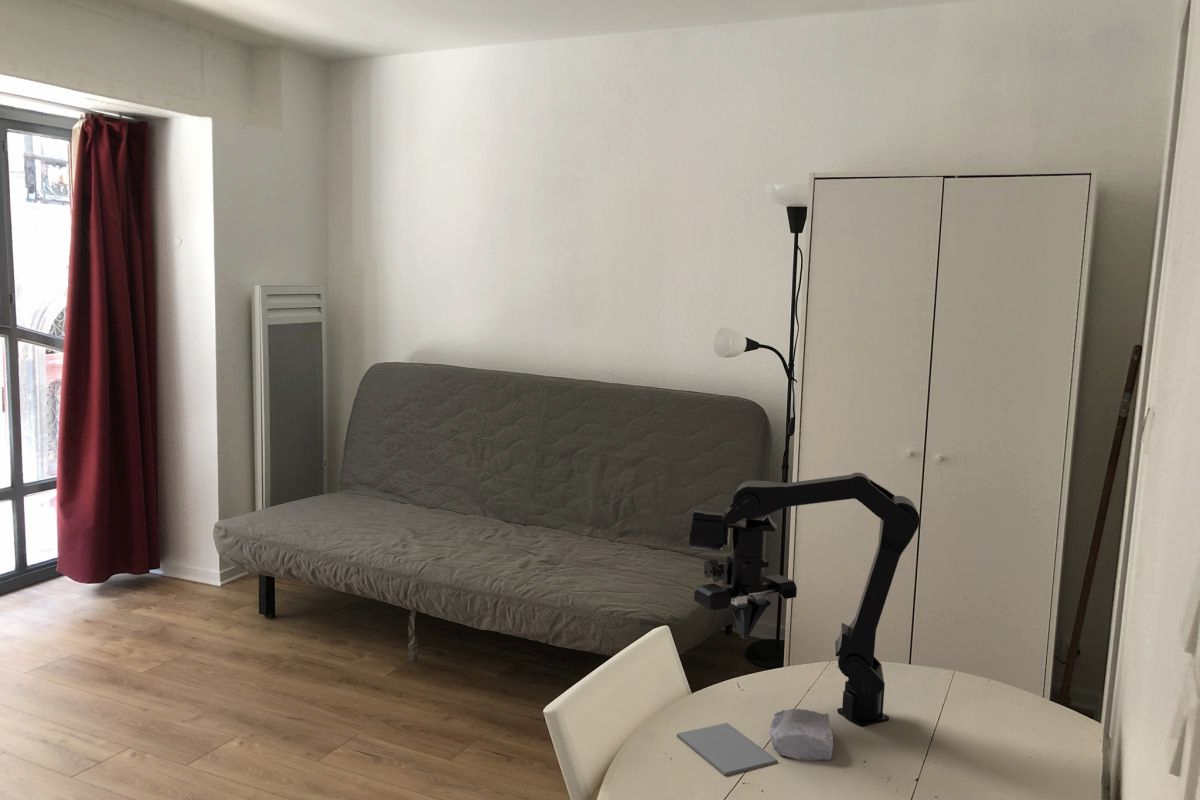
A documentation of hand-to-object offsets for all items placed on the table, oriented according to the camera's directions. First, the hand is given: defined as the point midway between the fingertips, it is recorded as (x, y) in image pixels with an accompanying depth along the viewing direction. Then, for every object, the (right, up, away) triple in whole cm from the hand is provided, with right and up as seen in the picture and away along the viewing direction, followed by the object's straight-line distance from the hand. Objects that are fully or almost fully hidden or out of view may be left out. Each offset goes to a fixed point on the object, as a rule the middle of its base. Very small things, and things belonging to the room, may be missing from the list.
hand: (744, 638), depth 169 cm
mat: (-5, -14, -16) cm, 22 cm away
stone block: (+2, -13, -13) cm, 19 cm away
